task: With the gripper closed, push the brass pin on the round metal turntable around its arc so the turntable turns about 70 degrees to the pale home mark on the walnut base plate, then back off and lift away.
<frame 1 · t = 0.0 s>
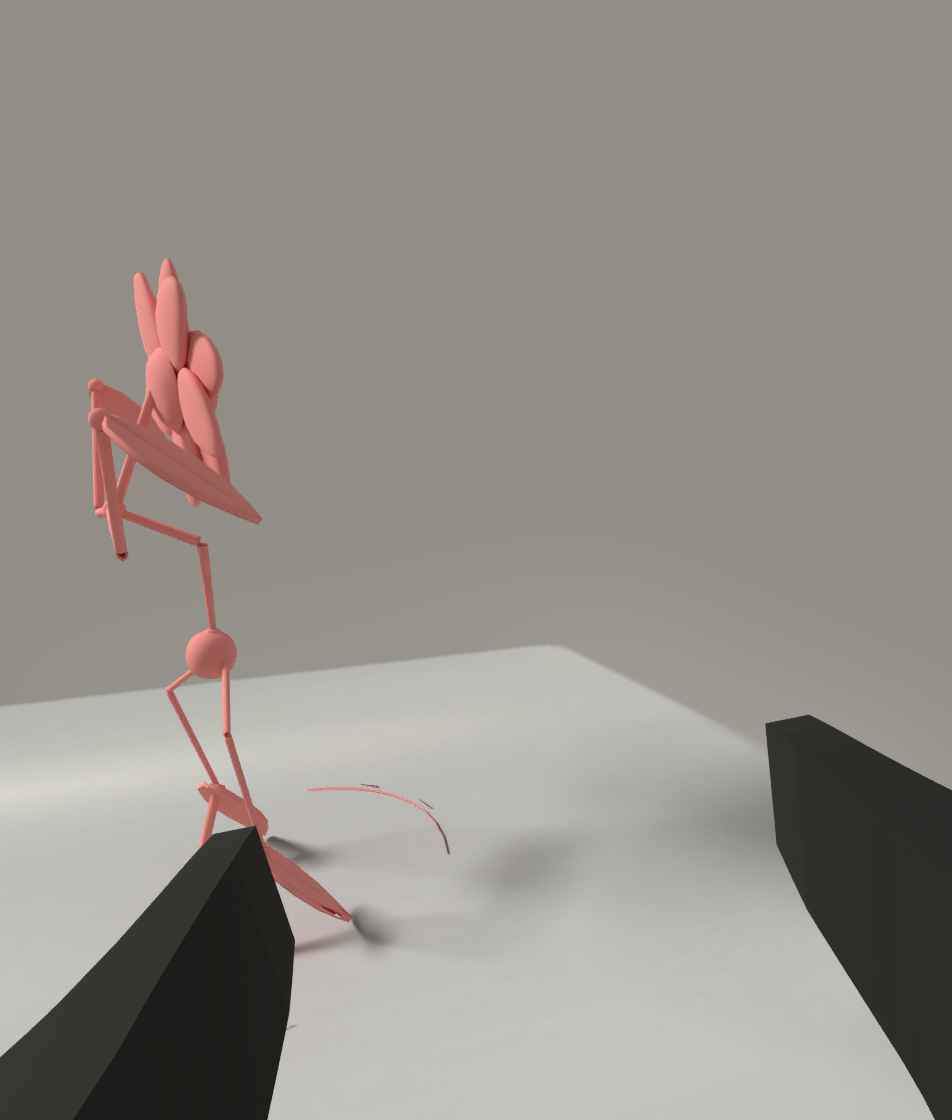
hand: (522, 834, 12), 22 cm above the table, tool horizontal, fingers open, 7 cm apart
figurine: (325, 869, 51), on the table
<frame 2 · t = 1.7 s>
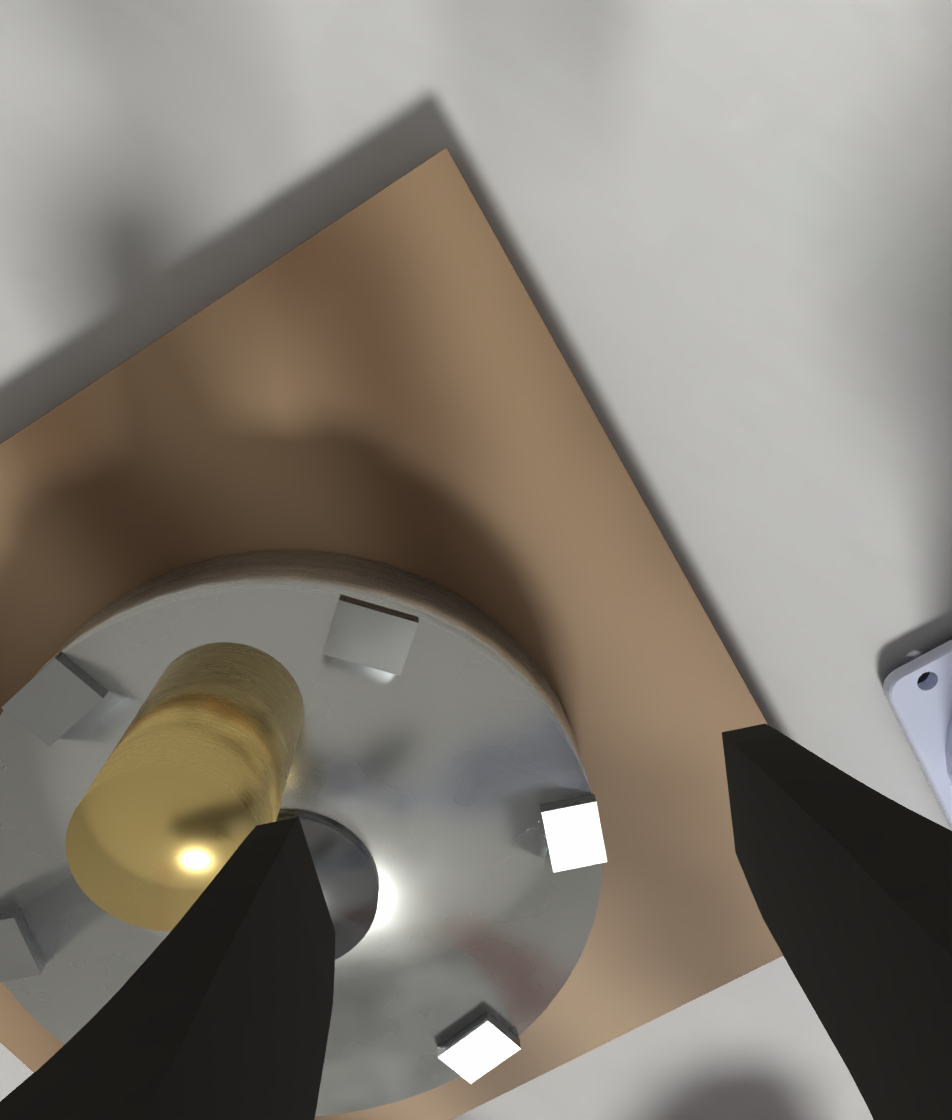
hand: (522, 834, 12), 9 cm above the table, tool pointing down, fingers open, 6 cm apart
base plate: (309, 790, 22), on the table
round metal turntable: (281, 918, 18), point 5 cm above the table, hinge at 0.0°
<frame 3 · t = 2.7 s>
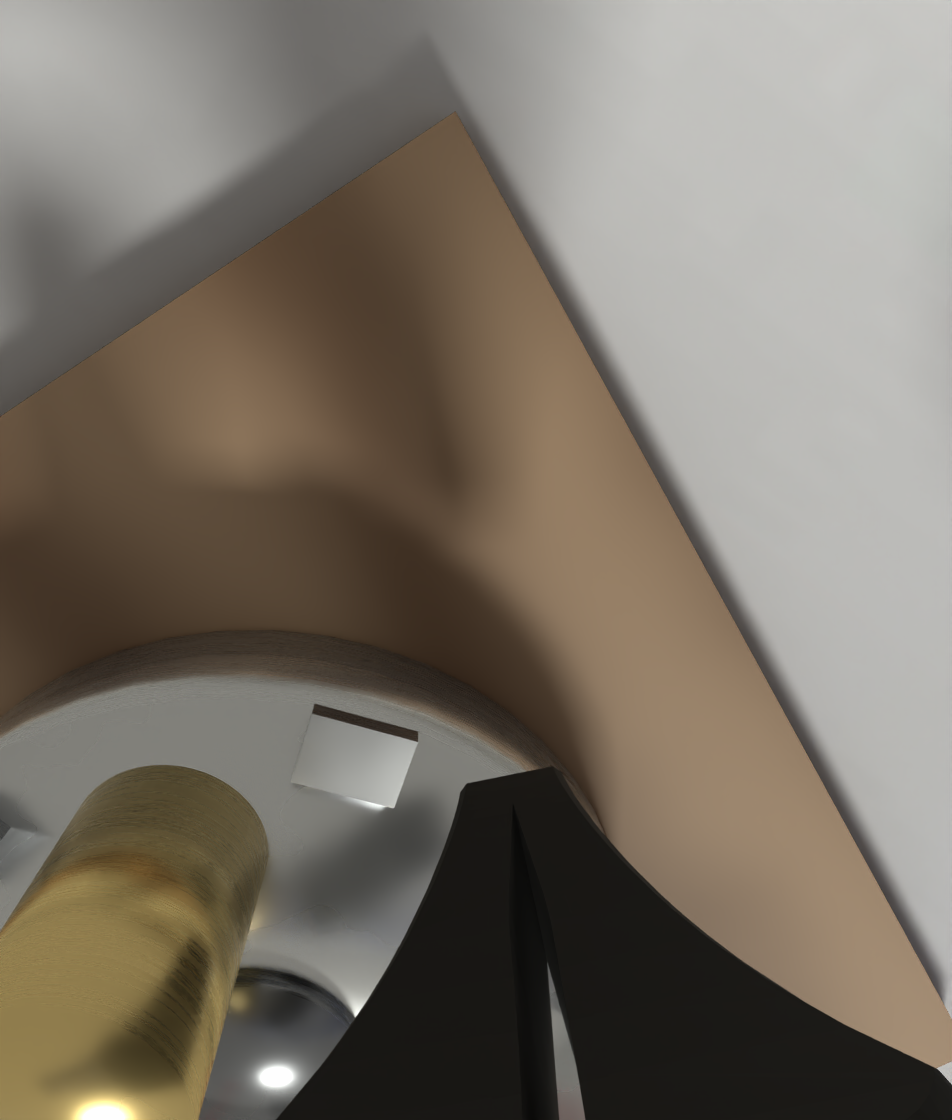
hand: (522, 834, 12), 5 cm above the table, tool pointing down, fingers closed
base plate: (284, 910, 18), on the table
round metal turntable: (239, 1113, 14), point 5 cm above the table, hinge at 0.0°
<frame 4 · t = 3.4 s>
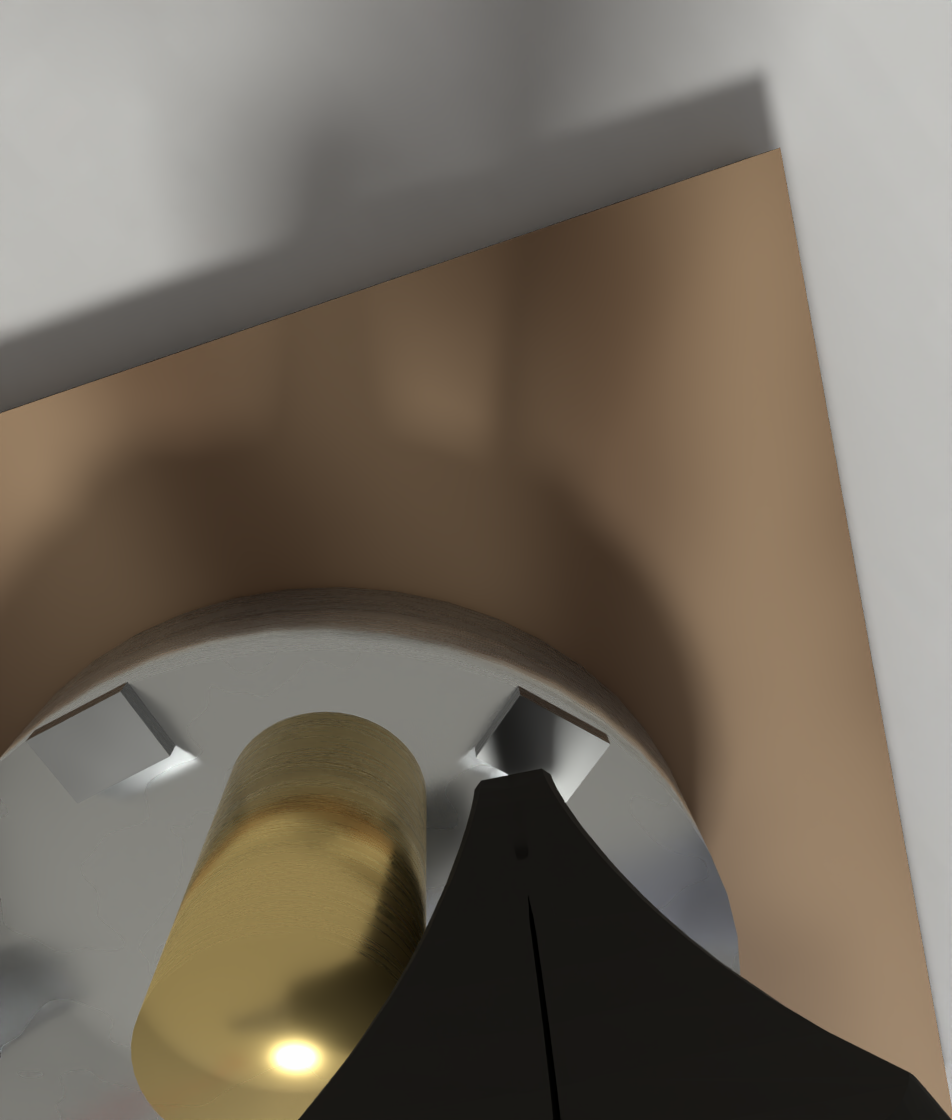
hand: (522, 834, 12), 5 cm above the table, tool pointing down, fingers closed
base plate: (350, 880, 18), on the table
round metal turntable: (326, 1078, 14), point 5 cm above the table, hinge at 0.0°, touching gripper
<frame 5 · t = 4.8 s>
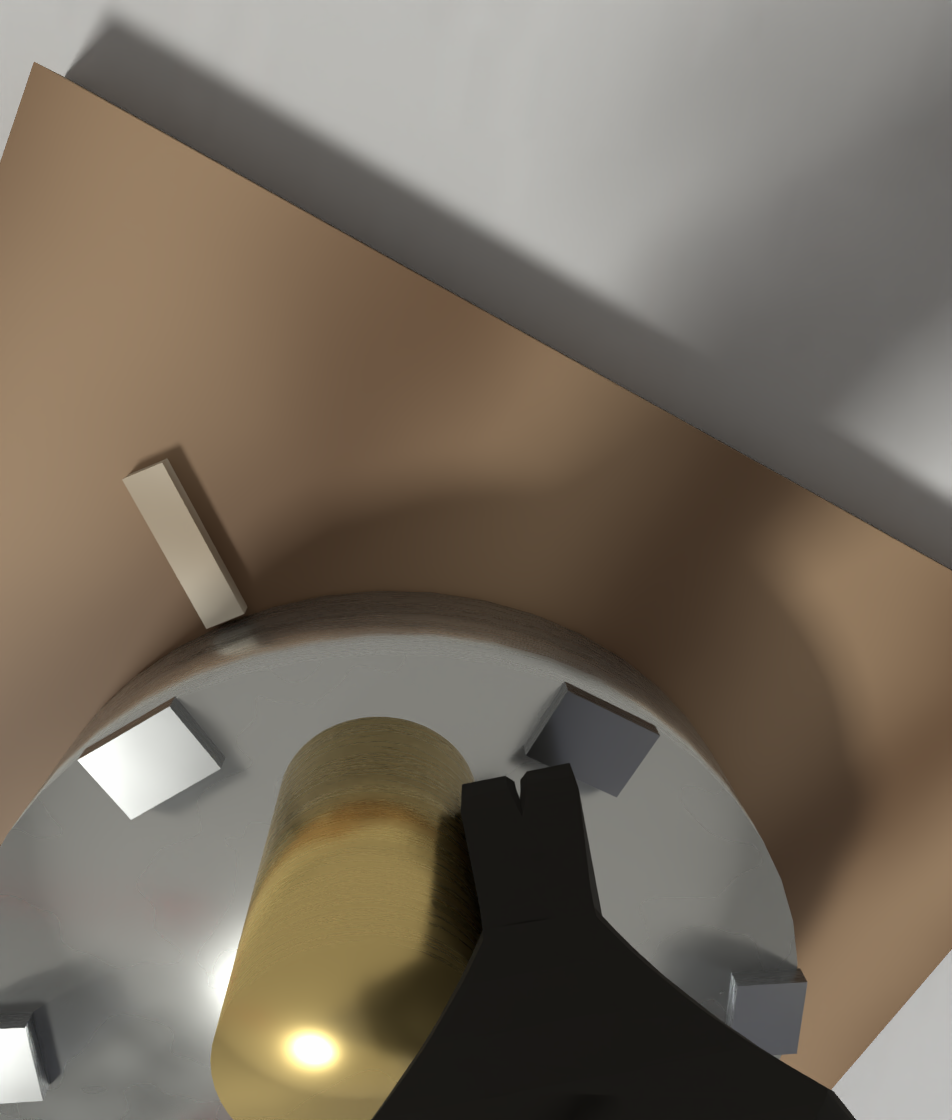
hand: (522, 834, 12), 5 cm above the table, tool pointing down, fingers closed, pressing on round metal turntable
base plate: (397, 882, 18), on the table
round metal turntable: (389, 1081, 14), point 5 cm above the table, hinge at 48.9°, touching gripper
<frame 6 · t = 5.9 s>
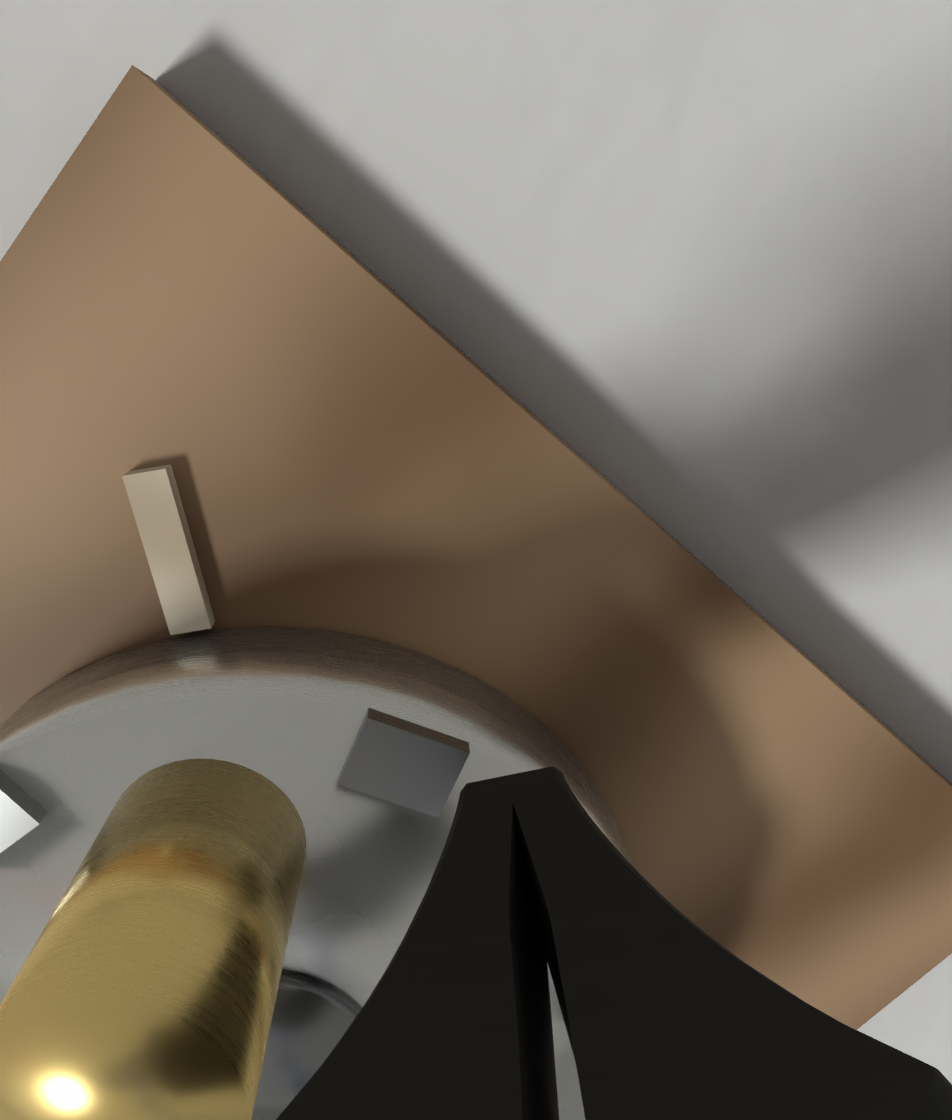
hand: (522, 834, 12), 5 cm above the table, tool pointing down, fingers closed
base plate: (296, 910, 18), on the table
round metal turntable: (255, 1114, 14), point 5 cm above the table, hinge at 67.8°
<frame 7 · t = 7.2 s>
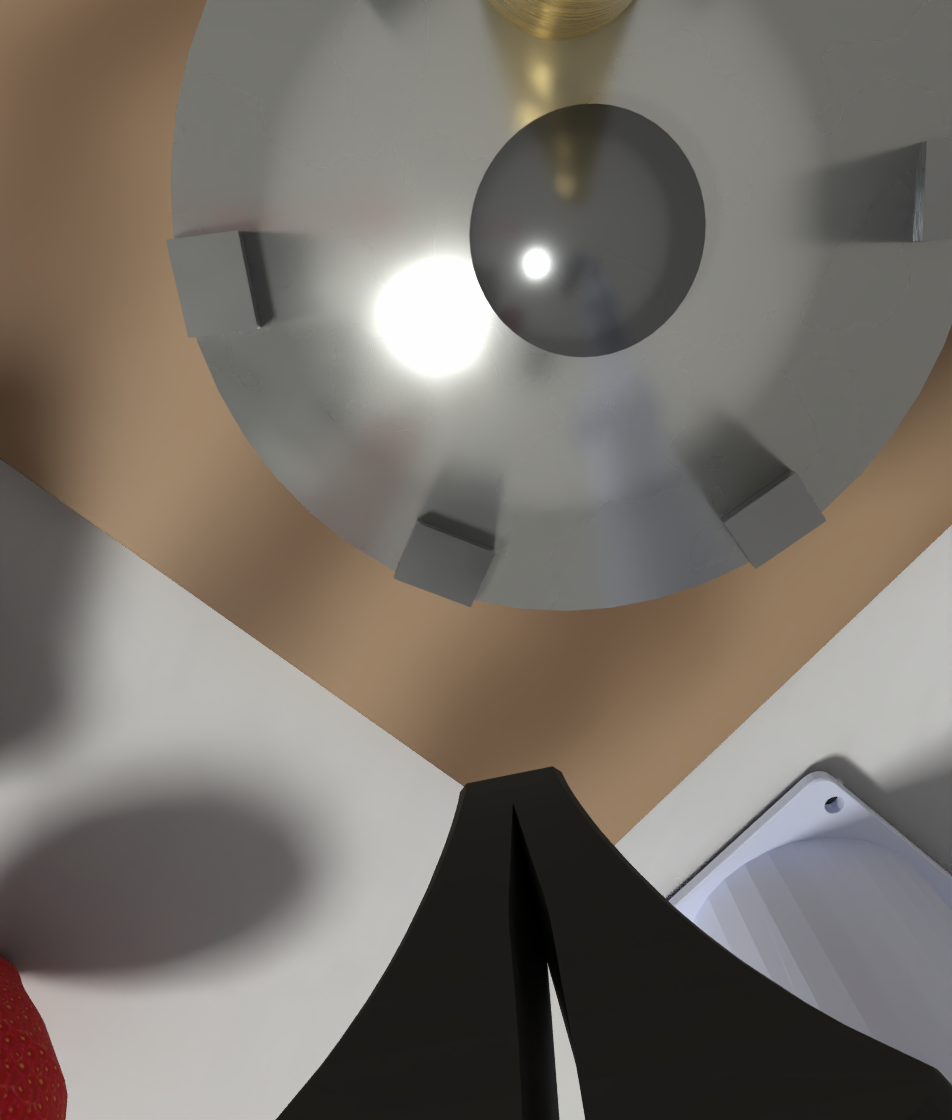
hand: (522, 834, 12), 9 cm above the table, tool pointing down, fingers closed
base plate: (555, 241, 18), on the table
round metal turntable: (595, 235, 14), point 5 cm above the table, hinge at 67.8°
strawberry: (0, 961, 24), on the table
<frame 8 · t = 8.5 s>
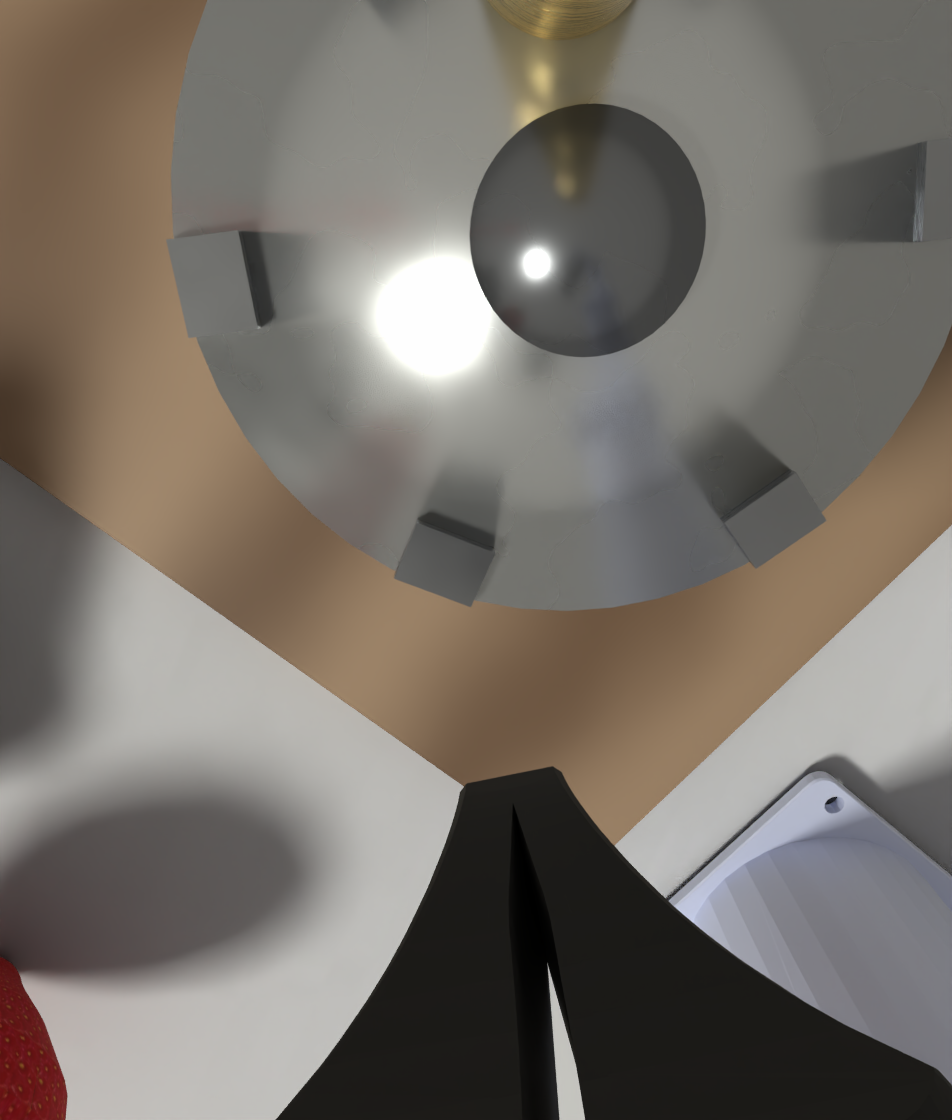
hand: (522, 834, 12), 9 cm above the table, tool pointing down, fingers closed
base plate: (555, 241, 18), on the table
round metal turntable: (595, 235, 14), point 5 cm above the table, hinge at 67.8°
strawberry: (0, 961, 24), on the table
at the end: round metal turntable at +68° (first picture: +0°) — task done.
